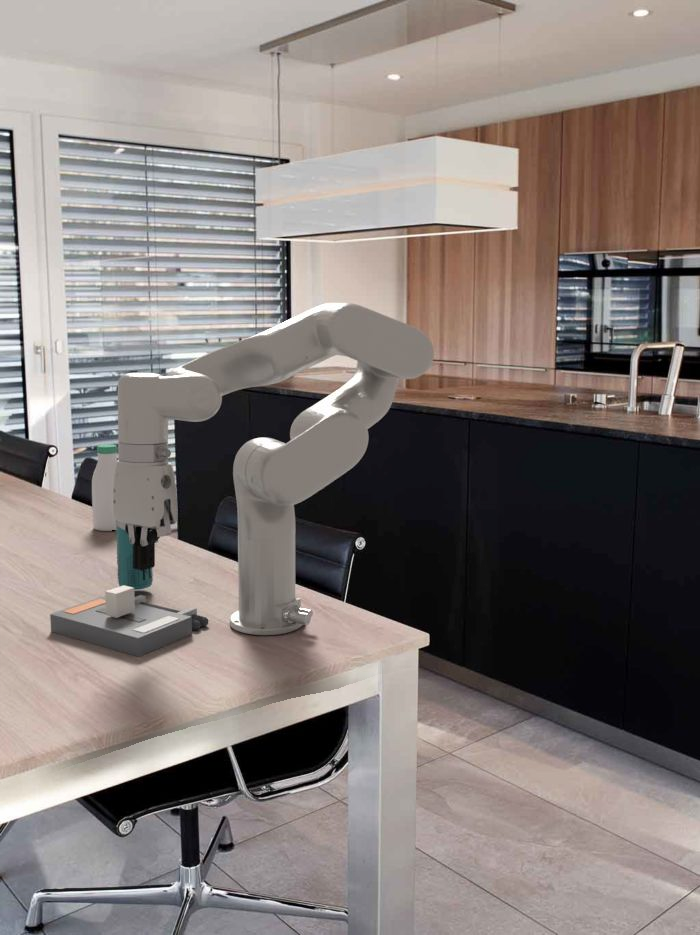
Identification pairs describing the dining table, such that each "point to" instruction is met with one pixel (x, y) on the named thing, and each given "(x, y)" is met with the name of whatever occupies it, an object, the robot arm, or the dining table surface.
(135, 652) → the panel
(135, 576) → the beverage bottle
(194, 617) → the dressed cords
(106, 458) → the milk bottle
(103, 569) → the dining table surface
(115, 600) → the block
